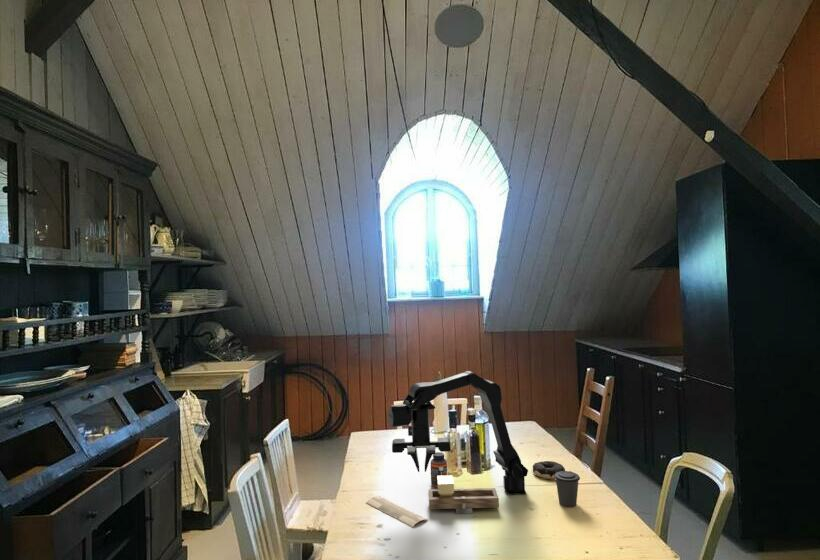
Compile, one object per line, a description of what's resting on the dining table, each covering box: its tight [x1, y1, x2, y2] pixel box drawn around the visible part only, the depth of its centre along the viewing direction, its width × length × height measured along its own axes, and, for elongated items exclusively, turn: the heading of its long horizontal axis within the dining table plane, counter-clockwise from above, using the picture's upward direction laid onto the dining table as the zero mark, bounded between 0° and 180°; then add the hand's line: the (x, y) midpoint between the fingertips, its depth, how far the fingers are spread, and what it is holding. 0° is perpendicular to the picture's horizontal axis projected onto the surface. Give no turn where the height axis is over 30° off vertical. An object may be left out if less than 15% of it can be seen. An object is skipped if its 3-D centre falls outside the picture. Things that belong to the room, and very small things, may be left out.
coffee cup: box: [554, 470, 581, 509], centre depth 164 cm, size 8×8×10 cm
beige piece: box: [365, 495, 429, 528], centre depth 162 cm, size 24×7×2 cm, turn 42°
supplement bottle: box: [430, 451, 448, 489], centre depth 182 cm, size 6×6×11 cm
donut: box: [532, 460, 566, 480], centre depth 189 cm, size 11×12×4 cm
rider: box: [437, 475, 455, 497], centre depth 164 cm, size 5×7×6 cm
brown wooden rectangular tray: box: [428, 487, 500, 515], centre depth 164 cm, size 22×9×5 cm, turn 89°
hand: (422, 471), depth 164 cm, fingers closed
